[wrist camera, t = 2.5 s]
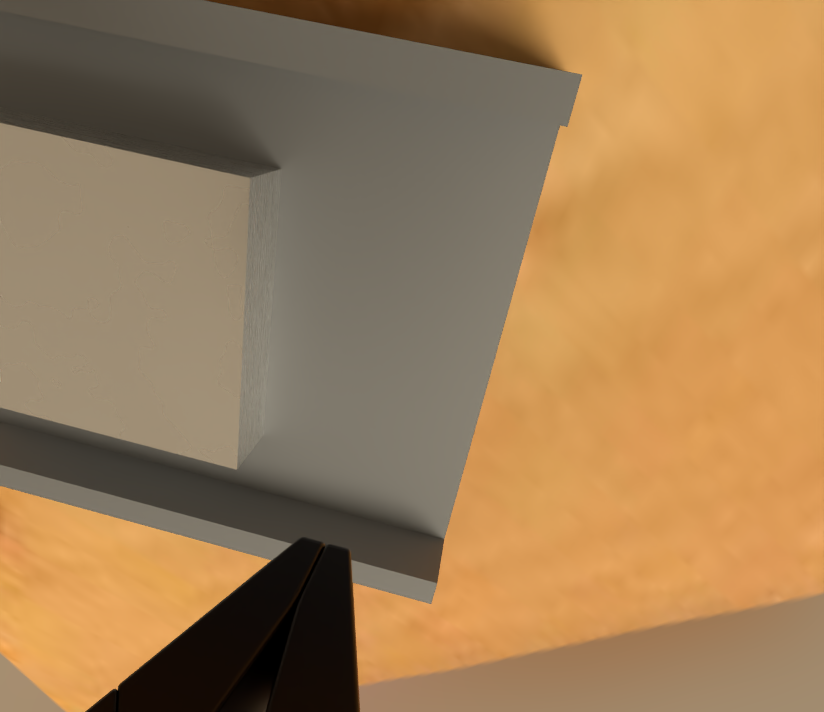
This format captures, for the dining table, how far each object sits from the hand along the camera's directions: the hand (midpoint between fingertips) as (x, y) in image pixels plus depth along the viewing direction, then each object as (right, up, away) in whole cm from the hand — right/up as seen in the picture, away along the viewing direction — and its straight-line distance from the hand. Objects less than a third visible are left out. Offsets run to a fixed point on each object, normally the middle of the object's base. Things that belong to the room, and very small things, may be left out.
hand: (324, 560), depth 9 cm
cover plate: (-8, +6, +8) cm, 13 cm away
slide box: (-5, +5, +9) cm, 12 cm away
